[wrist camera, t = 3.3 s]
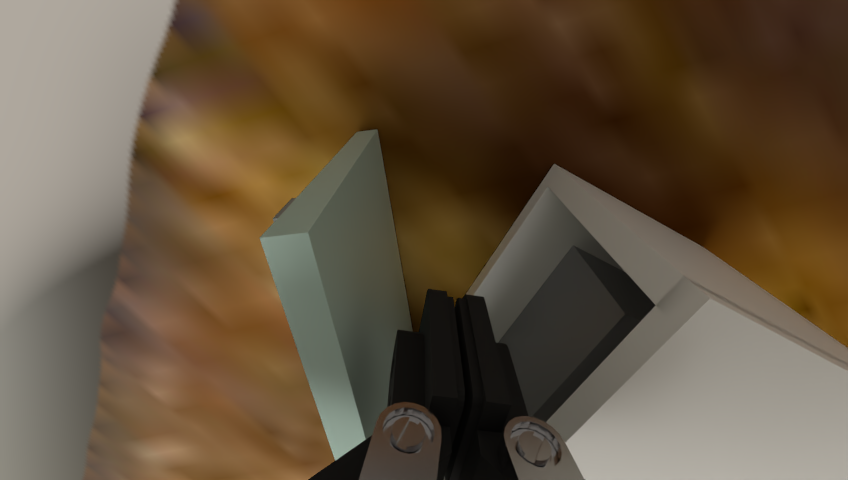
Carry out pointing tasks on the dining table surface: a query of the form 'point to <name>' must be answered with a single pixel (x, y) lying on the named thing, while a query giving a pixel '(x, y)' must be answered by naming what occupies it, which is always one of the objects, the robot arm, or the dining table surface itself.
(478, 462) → the robot arm
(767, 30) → the dining table surface
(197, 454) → the dining table surface
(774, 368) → the housing
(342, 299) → the door
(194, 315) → the dining table surface
